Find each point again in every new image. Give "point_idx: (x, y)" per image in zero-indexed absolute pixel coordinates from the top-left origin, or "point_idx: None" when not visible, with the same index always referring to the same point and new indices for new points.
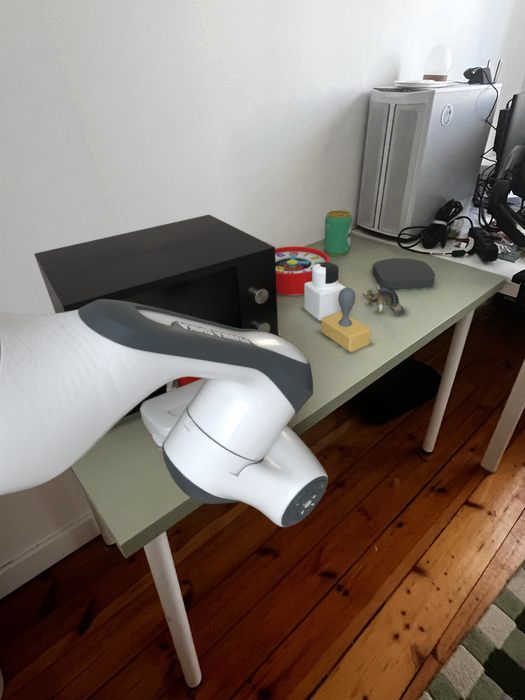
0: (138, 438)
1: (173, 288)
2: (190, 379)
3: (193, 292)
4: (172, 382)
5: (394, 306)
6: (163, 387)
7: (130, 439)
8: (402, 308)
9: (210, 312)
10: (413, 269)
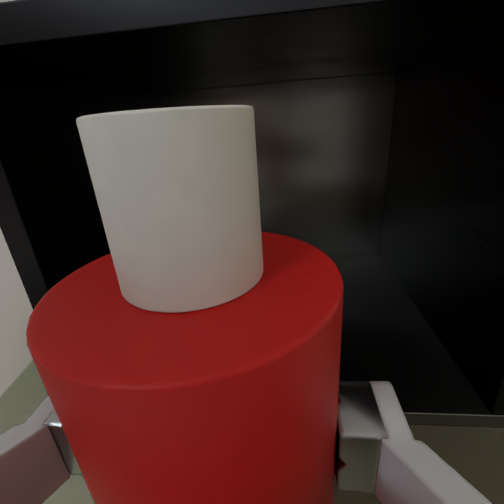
0: (84, 494)
1: (357, 188)
2: (95, 500)
3: (392, 200)
4: (23, 438)
5: None
6: None
7: (70, 482)
8: None
9: (418, 237)
10: None
